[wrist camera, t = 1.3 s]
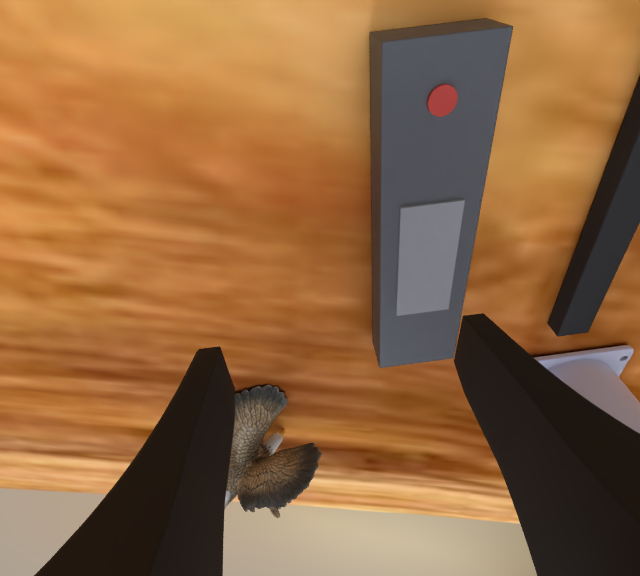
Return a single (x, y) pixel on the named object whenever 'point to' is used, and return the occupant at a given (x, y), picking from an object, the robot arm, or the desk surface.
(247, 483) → the eagle figurine
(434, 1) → the desk surface
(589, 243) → the strip
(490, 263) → the desk surface
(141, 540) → the robot arm
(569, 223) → the desk surface
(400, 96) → the remote
